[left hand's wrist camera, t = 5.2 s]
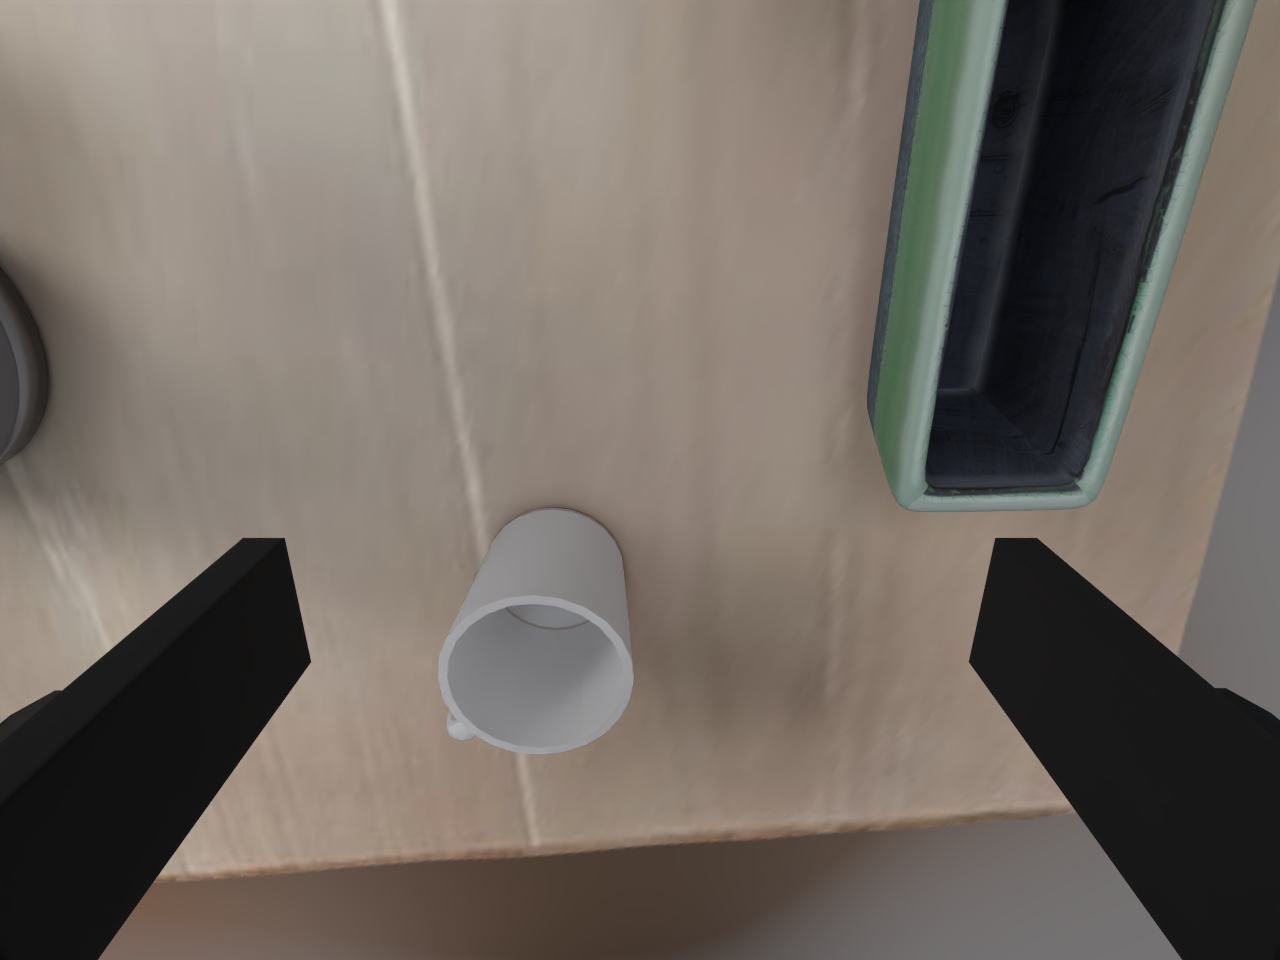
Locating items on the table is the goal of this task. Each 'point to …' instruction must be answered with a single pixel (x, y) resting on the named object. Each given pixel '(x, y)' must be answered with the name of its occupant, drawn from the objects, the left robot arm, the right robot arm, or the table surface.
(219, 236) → the table surface
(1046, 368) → the planter
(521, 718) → the mug
